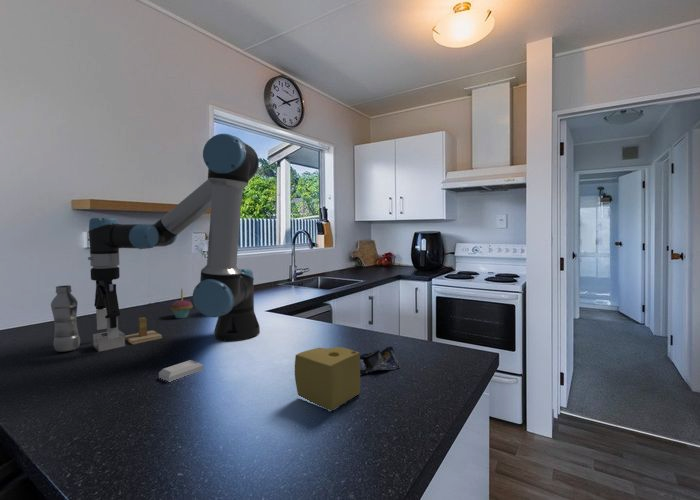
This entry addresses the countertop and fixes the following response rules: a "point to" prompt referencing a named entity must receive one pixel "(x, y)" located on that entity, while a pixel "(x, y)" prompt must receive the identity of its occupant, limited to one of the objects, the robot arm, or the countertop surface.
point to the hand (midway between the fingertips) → (107, 333)
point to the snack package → (378, 360)
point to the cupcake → (181, 307)
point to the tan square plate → (142, 333)
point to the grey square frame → (108, 341)
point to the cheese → (328, 375)
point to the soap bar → (180, 370)
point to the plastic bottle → (65, 320)
